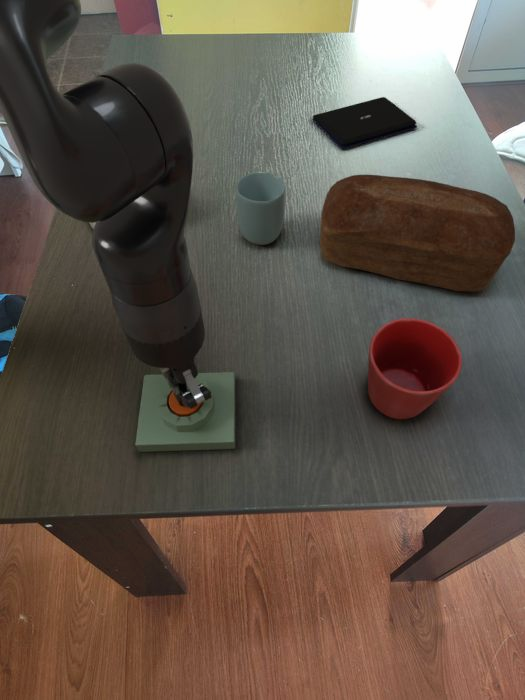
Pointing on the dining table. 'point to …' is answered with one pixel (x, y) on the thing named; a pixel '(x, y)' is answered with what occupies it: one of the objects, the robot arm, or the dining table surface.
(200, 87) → the dining table surface
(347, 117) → the laptop
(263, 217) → the cup
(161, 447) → the block
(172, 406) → the power button
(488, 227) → the bread
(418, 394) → the flower pot
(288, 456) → the dining table surface
